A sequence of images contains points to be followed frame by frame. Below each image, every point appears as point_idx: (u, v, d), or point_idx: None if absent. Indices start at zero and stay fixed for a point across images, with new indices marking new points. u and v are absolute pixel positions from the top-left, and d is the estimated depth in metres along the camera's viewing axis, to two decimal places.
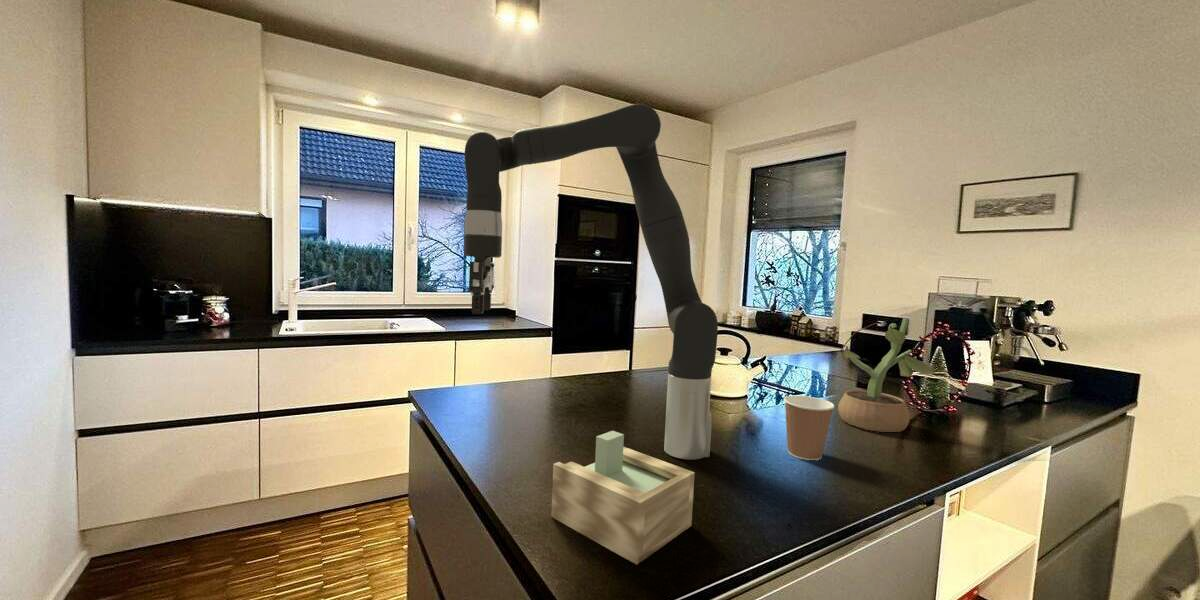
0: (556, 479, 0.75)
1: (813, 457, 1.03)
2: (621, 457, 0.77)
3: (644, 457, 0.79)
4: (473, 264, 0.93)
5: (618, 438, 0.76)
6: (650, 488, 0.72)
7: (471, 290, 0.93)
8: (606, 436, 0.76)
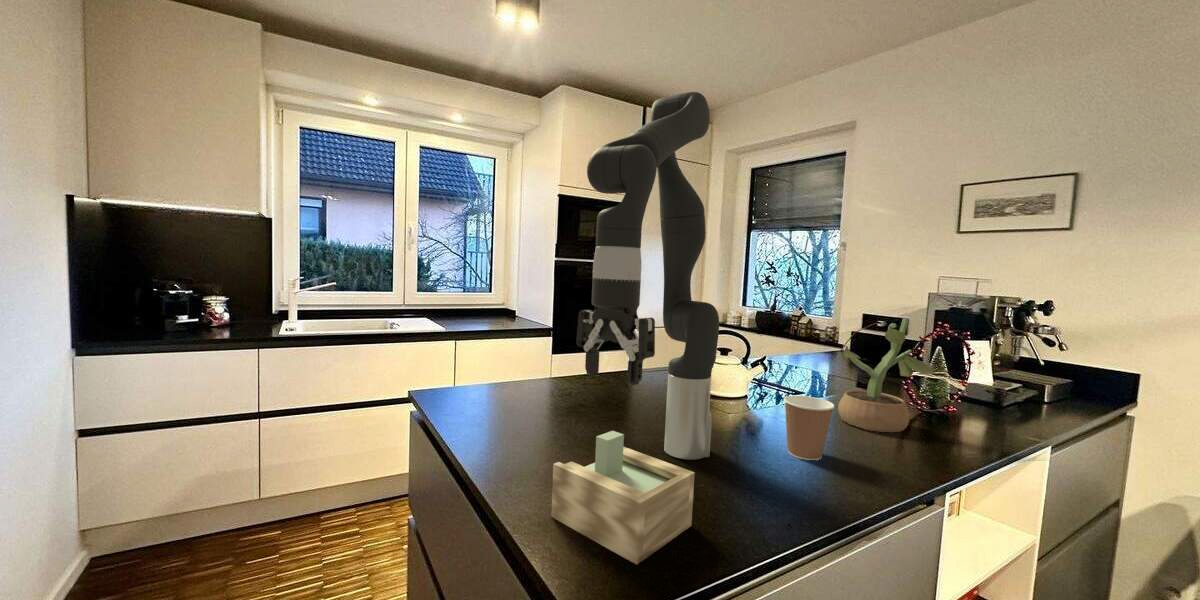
0: (556, 479, 0.75)
1: (813, 457, 1.03)
2: (621, 457, 0.77)
3: (644, 457, 0.79)
4: (647, 322, 0.70)
5: (618, 438, 0.76)
6: (650, 488, 0.72)
7: (645, 356, 0.70)
8: (606, 436, 0.76)
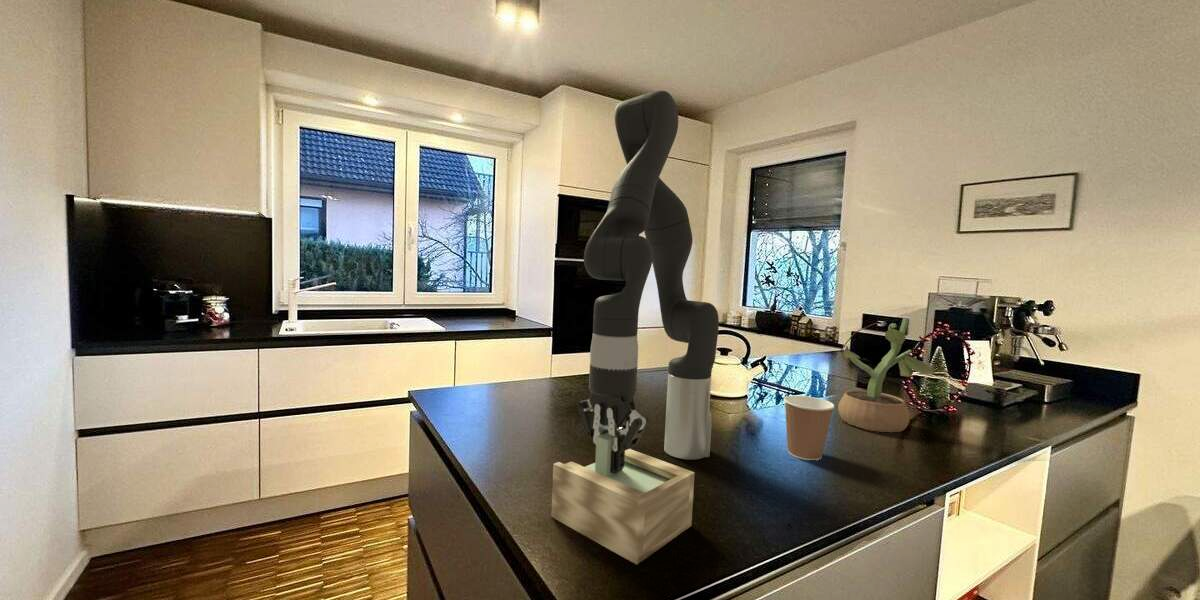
0: (556, 479, 0.75)
1: (813, 457, 1.03)
2: None
3: (644, 457, 0.79)
4: (641, 424, 0.71)
5: None
6: (650, 488, 0.72)
7: None
8: (606, 436, 0.76)
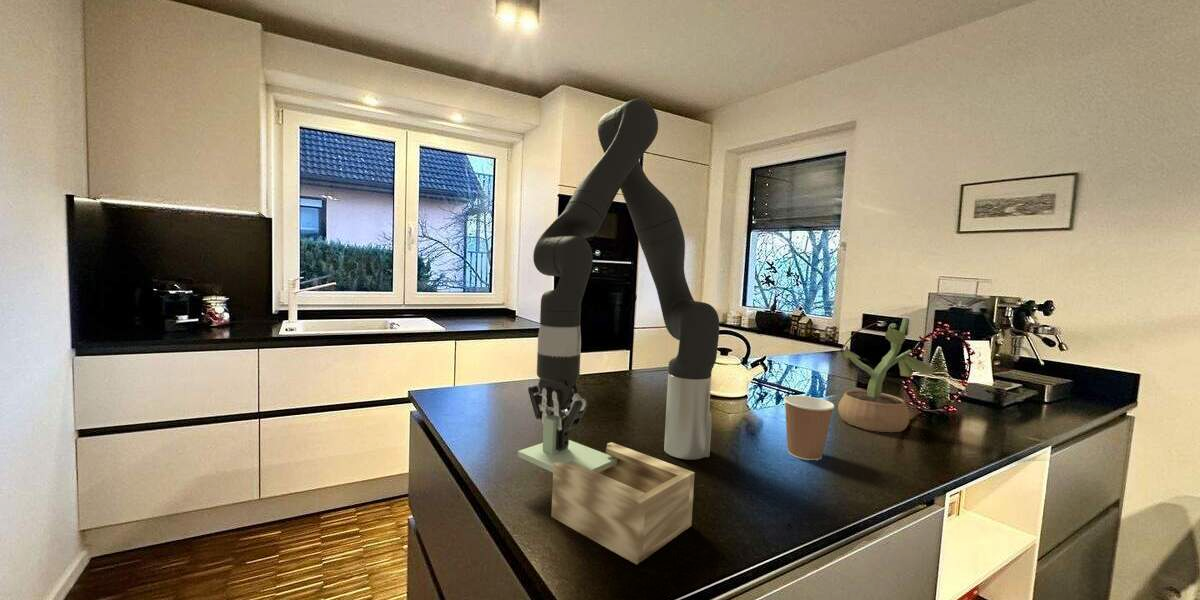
0: (556, 479, 0.75)
1: (813, 457, 1.03)
2: None
3: (644, 457, 0.79)
4: (581, 405, 0.80)
5: (564, 418, 0.84)
6: (590, 462, 0.80)
7: (569, 427, 0.81)
8: (552, 417, 0.84)
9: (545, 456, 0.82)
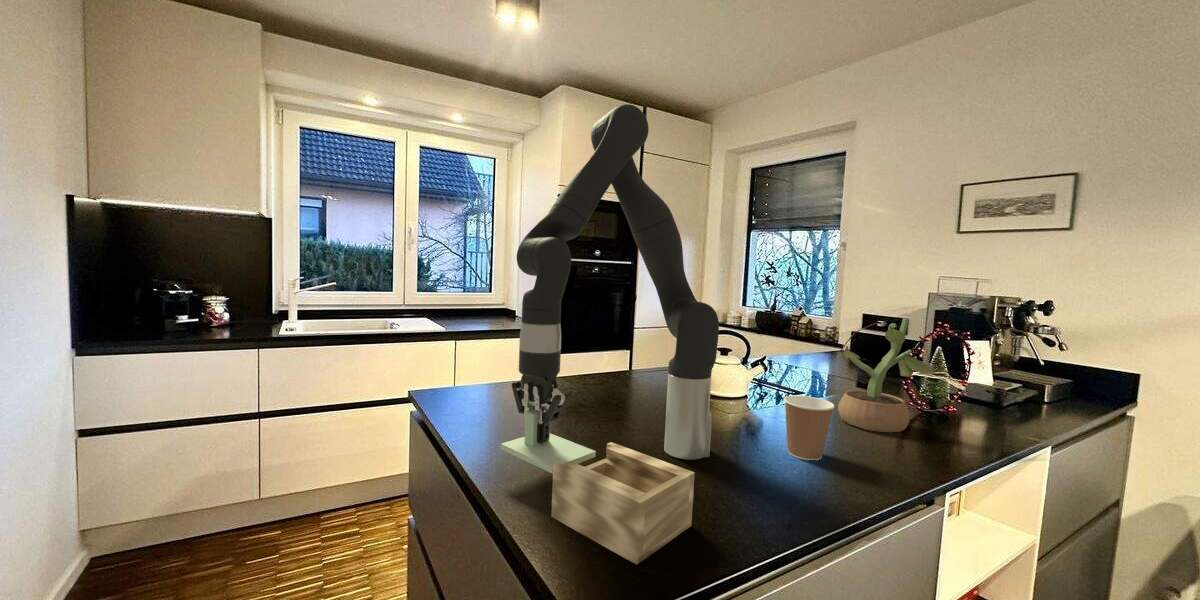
0: (556, 479, 0.75)
1: (813, 457, 1.03)
2: None
3: (644, 457, 0.79)
4: (560, 400, 0.83)
5: (545, 413, 0.88)
6: (568, 455, 0.83)
7: (549, 421, 0.85)
8: (534, 411, 0.87)
9: (526, 448, 0.85)
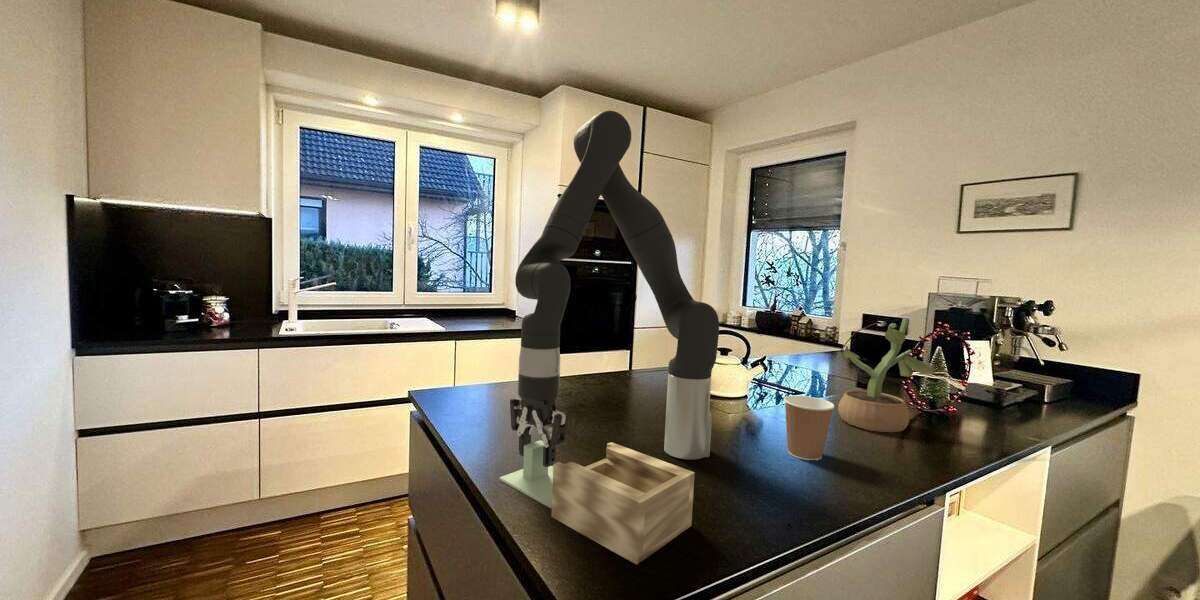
0: (556, 479, 0.75)
1: (813, 457, 1.03)
2: None
3: (644, 457, 0.79)
4: (561, 418, 0.83)
5: (543, 446, 0.88)
6: None
7: (555, 444, 0.84)
8: (532, 445, 0.88)
9: (525, 483, 0.86)
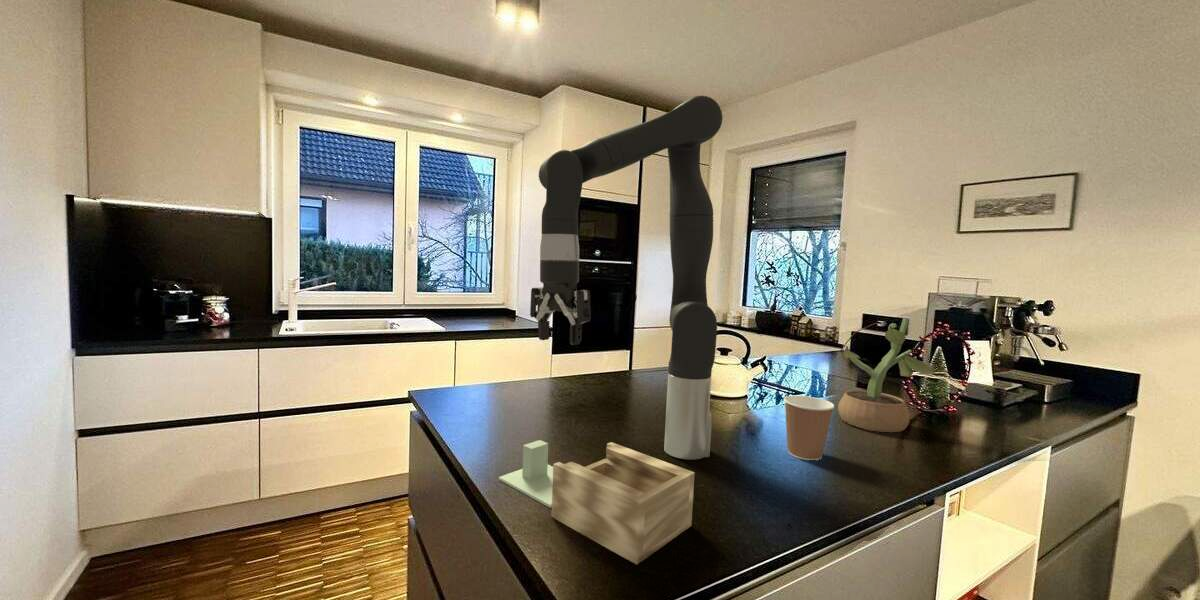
0: (556, 479, 0.75)
1: (813, 457, 1.03)
2: (546, 463, 0.89)
3: (644, 457, 0.79)
4: (583, 293, 0.88)
5: (542, 446, 0.88)
6: None
7: (582, 320, 0.88)
8: (531, 445, 0.88)
9: (524, 483, 0.86)
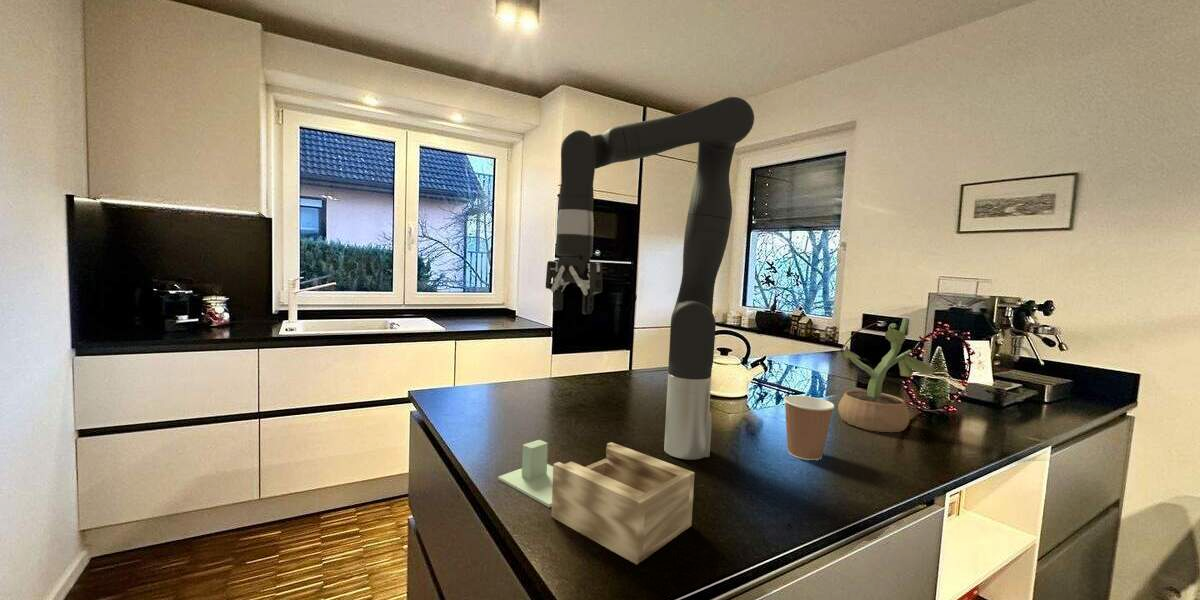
0: (556, 479, 0.75)
1: (813, 457, 1.03)
2: (545, 462, 0.89)
3: (644, 457, 0.79)
4: (596, 265, 0.94)
5: (542, 446, 0.88)
6: None
7: (594, 291, 0.94)
8: (531, 444, 0.88)
9: (523, 482, 0.86)
